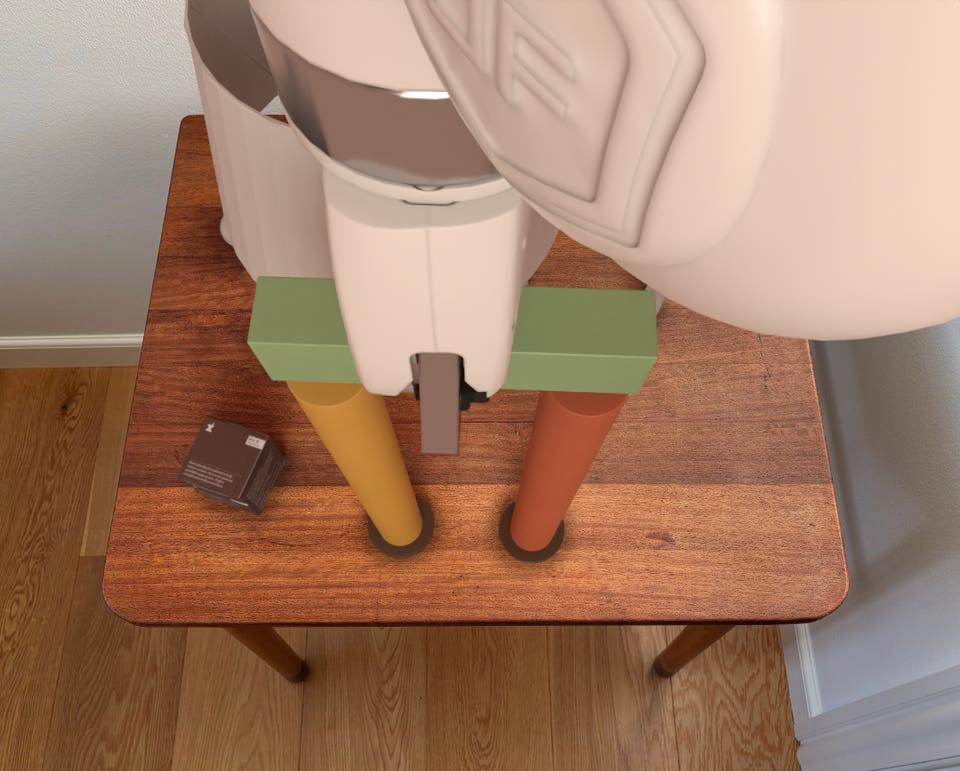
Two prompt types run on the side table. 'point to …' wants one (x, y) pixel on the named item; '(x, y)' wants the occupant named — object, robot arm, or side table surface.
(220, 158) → the table lamp
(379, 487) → the ochre rod
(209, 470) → the box
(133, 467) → the side table surface
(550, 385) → the green bar
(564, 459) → the terracotta rod
